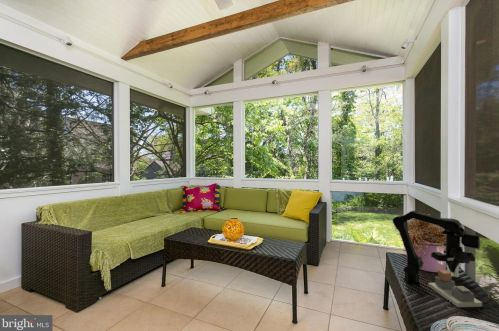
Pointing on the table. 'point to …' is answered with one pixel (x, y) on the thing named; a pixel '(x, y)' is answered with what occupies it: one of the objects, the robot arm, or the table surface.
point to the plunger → (462, 289)
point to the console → (454, 294)
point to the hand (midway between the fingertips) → (452, 272)
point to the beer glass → (455, 273)
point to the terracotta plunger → (444, 275)
